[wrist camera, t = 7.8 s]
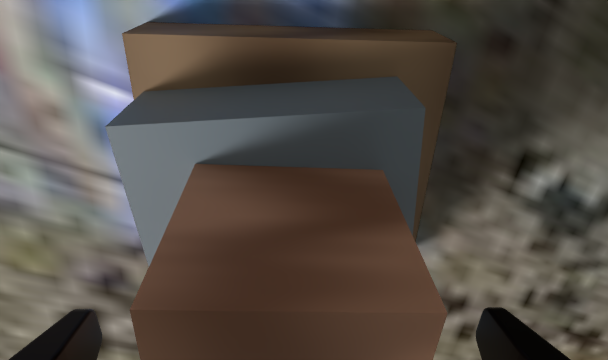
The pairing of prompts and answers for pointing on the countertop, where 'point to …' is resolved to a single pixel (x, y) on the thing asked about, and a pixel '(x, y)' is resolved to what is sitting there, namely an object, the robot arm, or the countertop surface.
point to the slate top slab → (264, 138)
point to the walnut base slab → (294, 63)
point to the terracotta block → (287, 271)
